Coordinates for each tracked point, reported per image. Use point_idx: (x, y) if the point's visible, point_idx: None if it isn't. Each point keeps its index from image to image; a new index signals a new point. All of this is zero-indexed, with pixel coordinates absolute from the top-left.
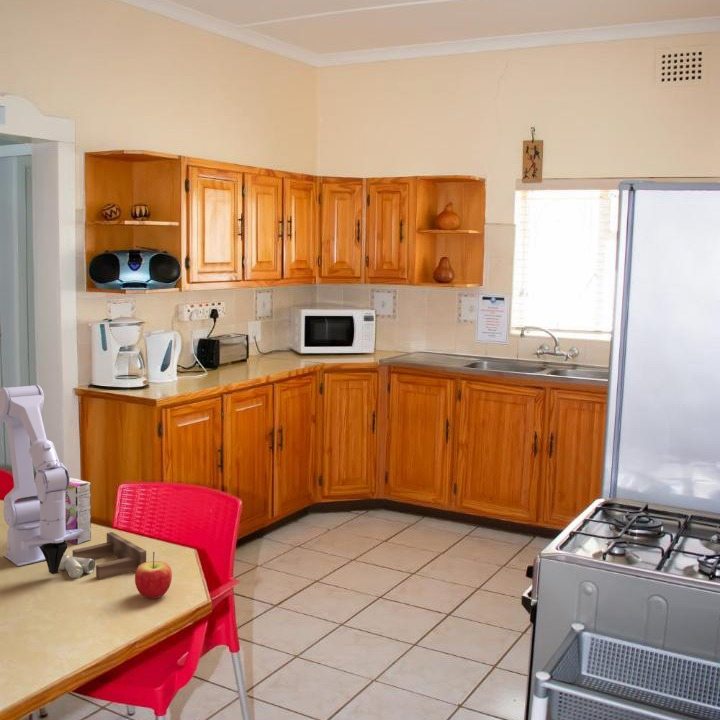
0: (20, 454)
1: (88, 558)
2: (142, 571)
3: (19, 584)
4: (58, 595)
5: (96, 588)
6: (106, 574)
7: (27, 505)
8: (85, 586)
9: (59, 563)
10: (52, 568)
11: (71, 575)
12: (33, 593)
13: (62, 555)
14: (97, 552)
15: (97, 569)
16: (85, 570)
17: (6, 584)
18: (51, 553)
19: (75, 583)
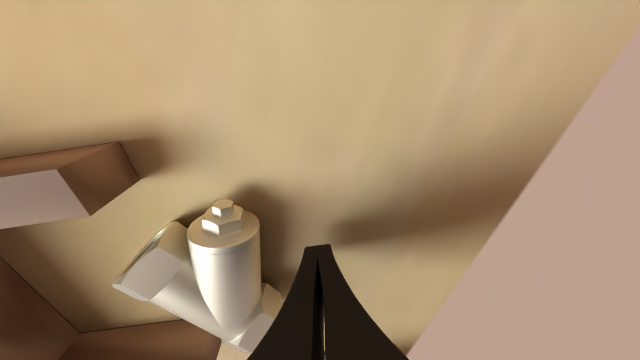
0: None
1: (165, 330)
2: None
3: (445, 238)
4: (366, 26)
5: (135, 13)
6: (66, 154)
7: None
8: (200, 84)
9: (297, 281)
10: (334, 262)
11: (249, 219)
12: (452, 125)
13: (275, 324)
14: (120, 351)
15: (98, 188)
16: (179, 233)
17: (477, 254)
18: (366, 347)
19: (245, 150)
